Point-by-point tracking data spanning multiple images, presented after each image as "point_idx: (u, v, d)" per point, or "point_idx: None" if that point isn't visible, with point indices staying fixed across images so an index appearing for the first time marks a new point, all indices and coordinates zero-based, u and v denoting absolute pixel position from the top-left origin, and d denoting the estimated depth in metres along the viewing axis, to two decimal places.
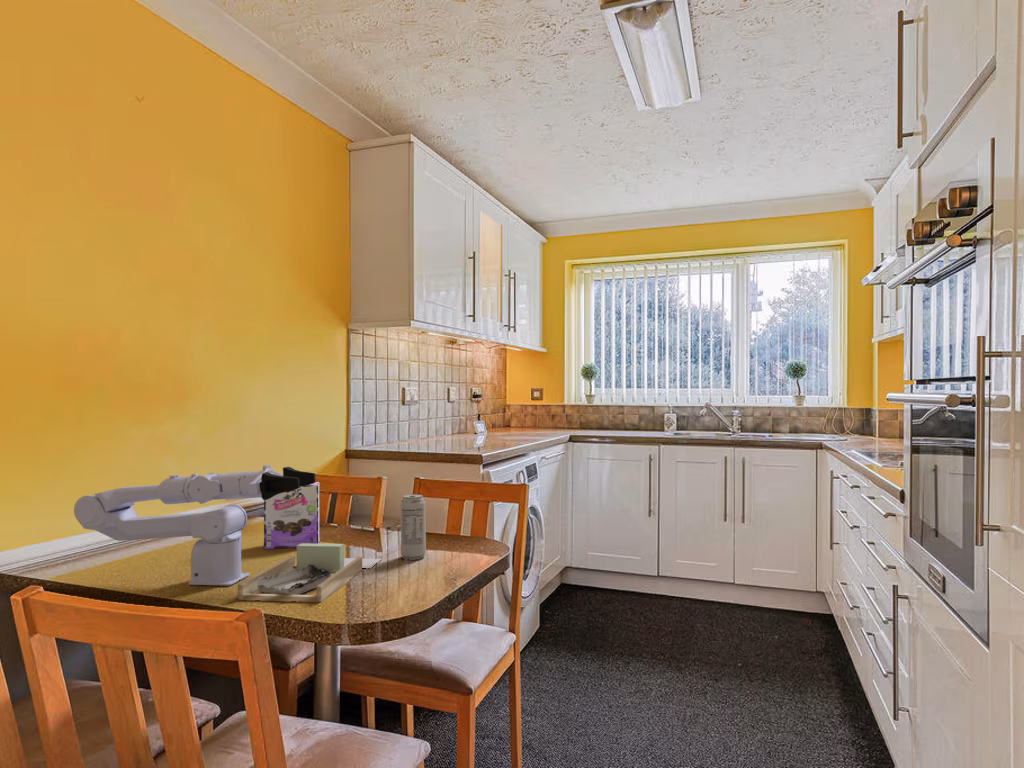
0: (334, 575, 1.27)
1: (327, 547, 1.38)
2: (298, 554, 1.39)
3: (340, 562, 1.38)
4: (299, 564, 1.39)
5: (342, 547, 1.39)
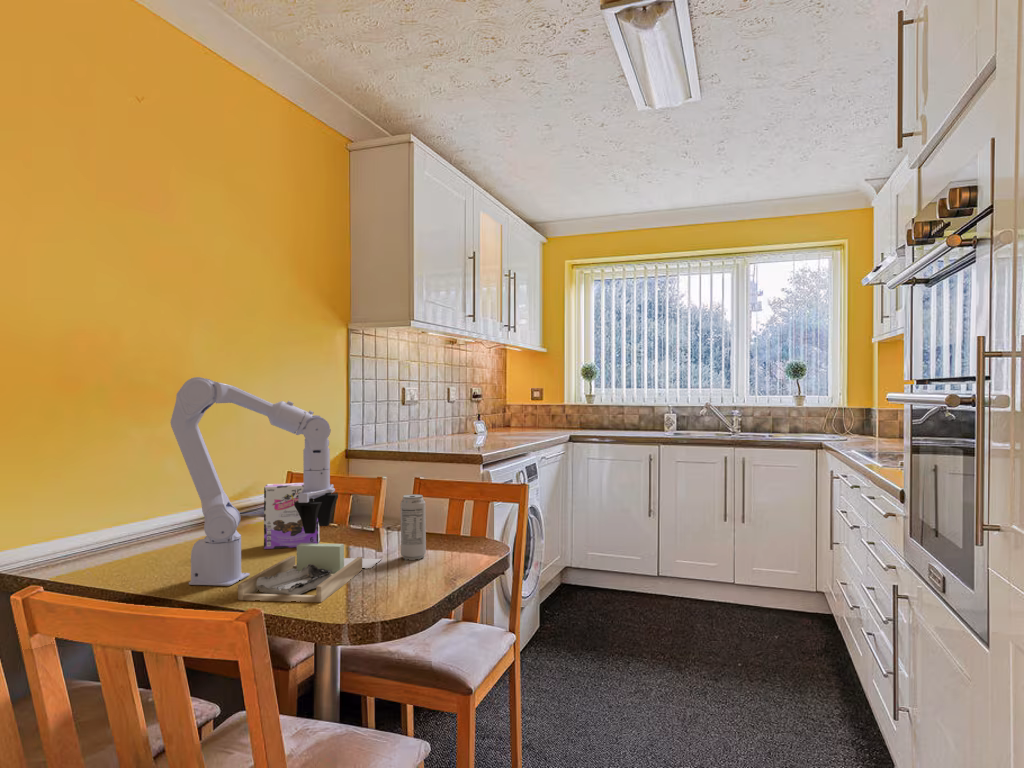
0: (334, 575, 1.27)
1: (327, 547, 1.38)
2: (298, 554, 1.39)
3: (340, 562, 1.38)
4: (299, 564, 1.38)
5: (342, 547, 1.39)
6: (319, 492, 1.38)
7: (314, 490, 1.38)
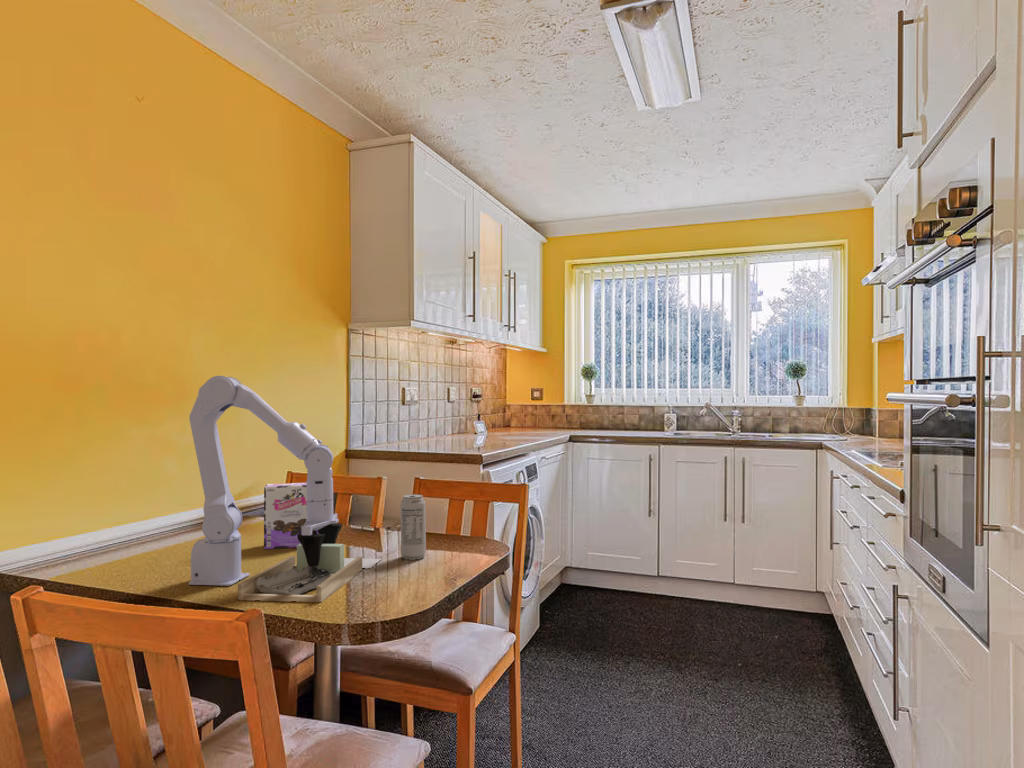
0: (334, 575, 1.27)
1: (327, 547, 1.38)
2: (298, 554, 1.39)
3: (340, 562, 1.38)
4: (299, 564, 1.38)
5: (342, 547, 1.39)
6: (322, 524, 1.36)
7: (317, 522, 1.37)
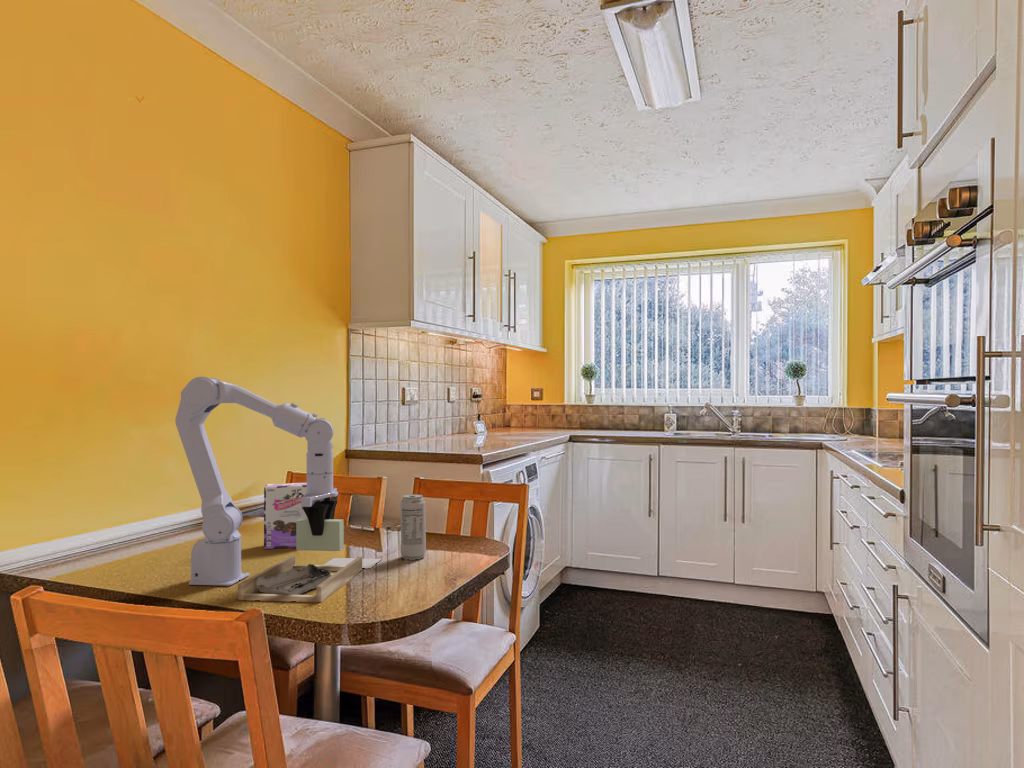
0: (334, 575, 1.27)
1: (327, 522, 1.38)
2: (298, 529, 1.39)
3: (340, 537, 1.38)
4: (299, 539, 1.39)
5: (342, 522, 1.39)
6: (322, 496, 1.36)
7: (317, 494, 1.37)
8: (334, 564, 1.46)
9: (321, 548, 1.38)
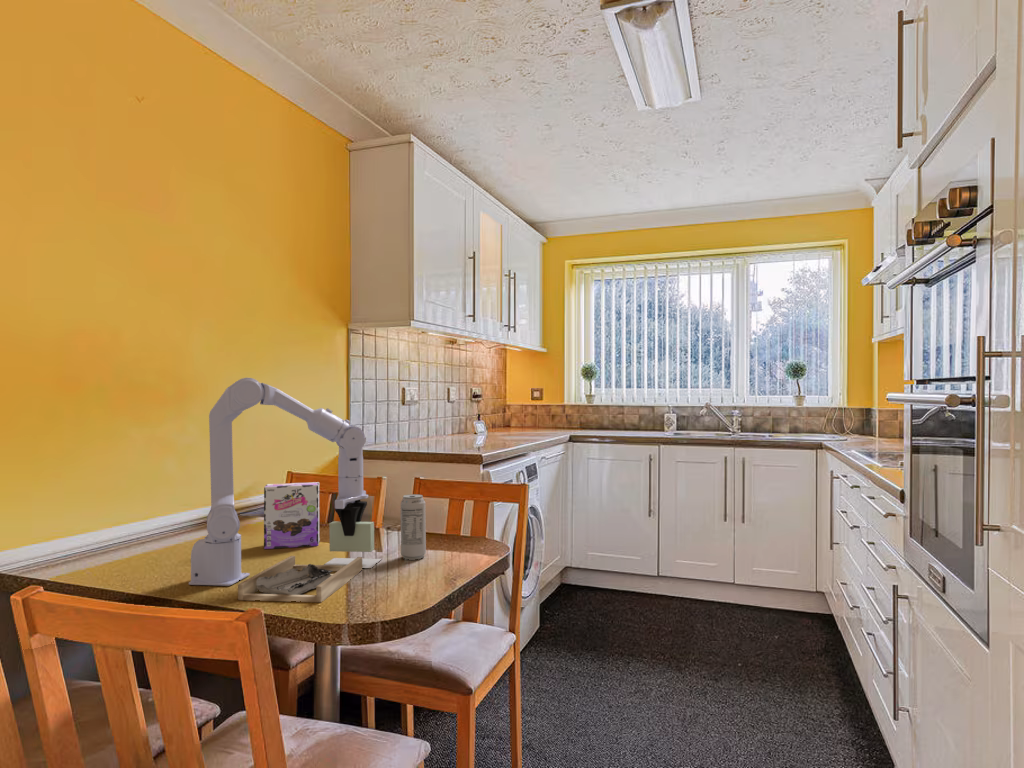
0: (334, 575, 1.27)
1: (358, 524, 1.46)
2: (331, 531, 1.46)
3: (371, 539, 1.45)
4: (332, 541, 1.46)
5: (372, 525, 1.47)
6: (354, 498, 1.44)
7: (349, 496, 1.44)
8: (334, 564, 1.46)
9: (353, 549, 1.46)
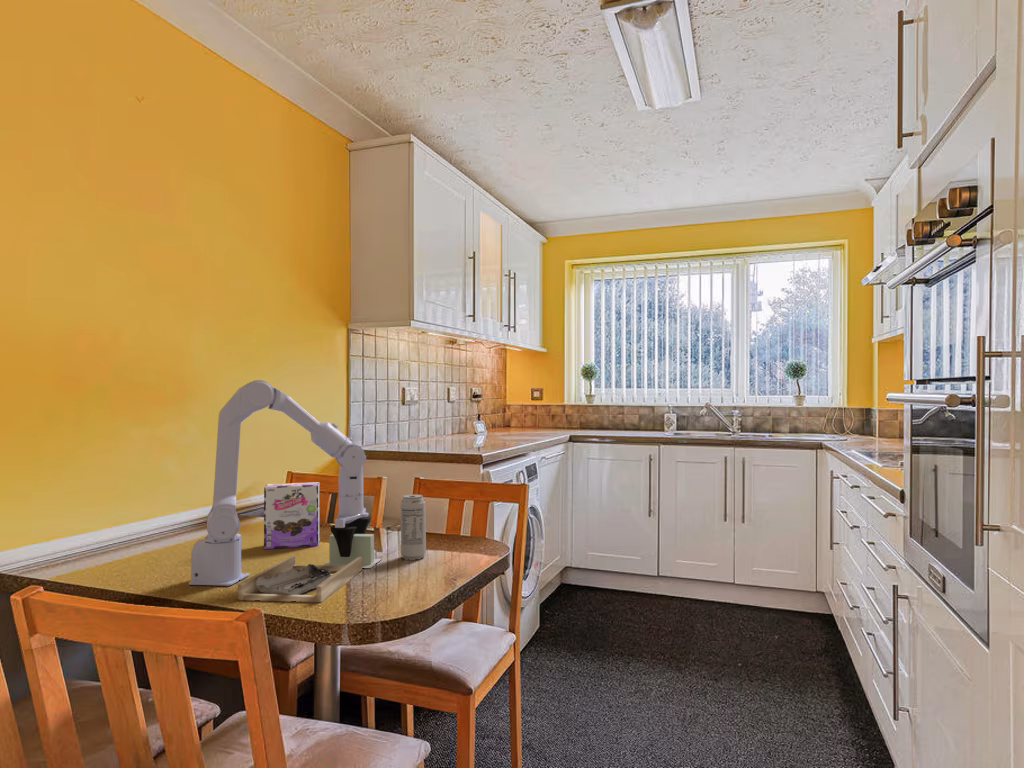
0: (334, 575, 1.27)
1: (358, 537, 1.46)
2: (331, 544, 1.46)
3: (371, 551, 1.45)
4: (332, 553, 1.46)
5: (372, 537, 1.47)
6: (354, 517, 1.44)
7: (349, 515, 1.44)
8: (334, 564, 1.46)
9: None
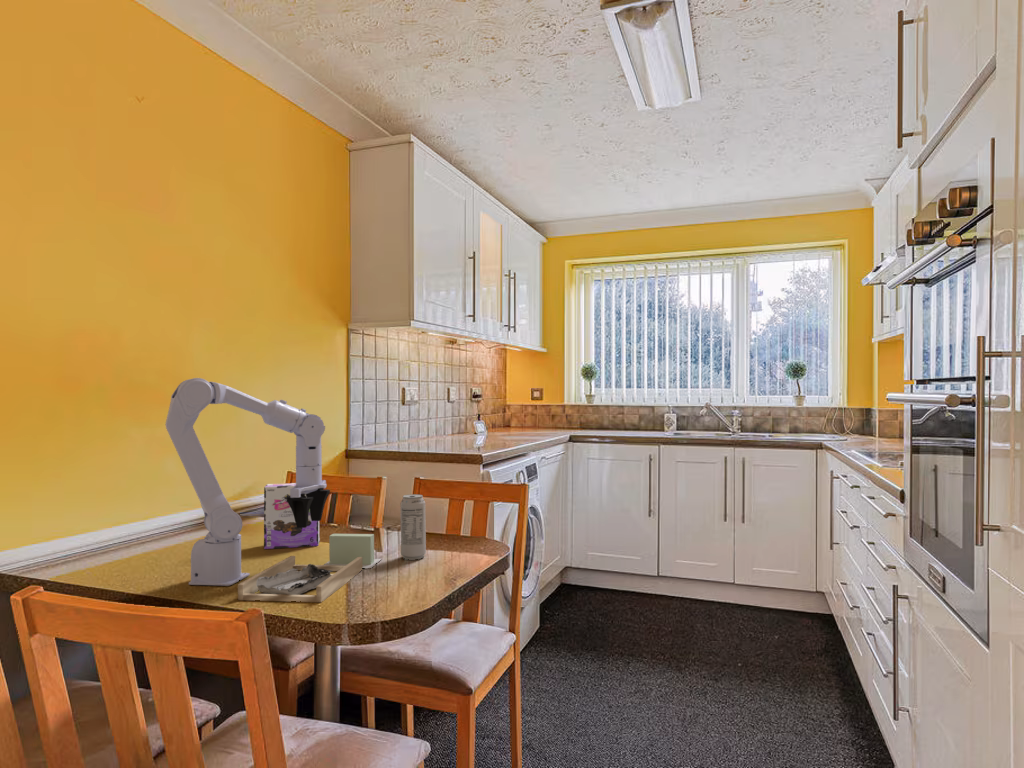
0: (334, 575, 1.27)
1: (358, 537, 1.46)
2: (331, 544, 1.46)
3: (371, 551, 1.45)
4: (332, 553, 1.46)
5: (372, 537, 1.47)
6: (311, 487, 1.42)
7: (306, 486, 1.42)
8: (334, 564, 1.46)
9: None
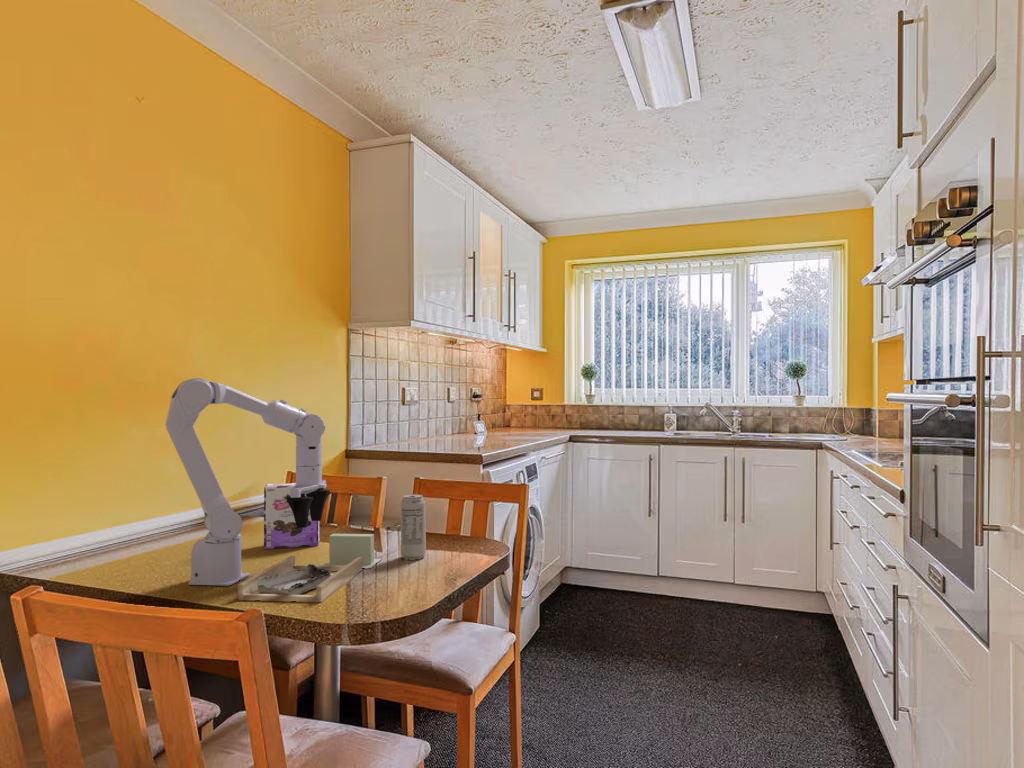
0: (334, 575, 1.27)
1: (358, 537, 1.46)
2: (331, 544, 1.46)
3: (371, 551, 1.45)
4: (332, 553, 1.46)
5: (372, 537, 1.47)
6: (311, 487, 1.42)
7: (306, 486, 1.42)
8: (334, 564, 1.46)
9: None
